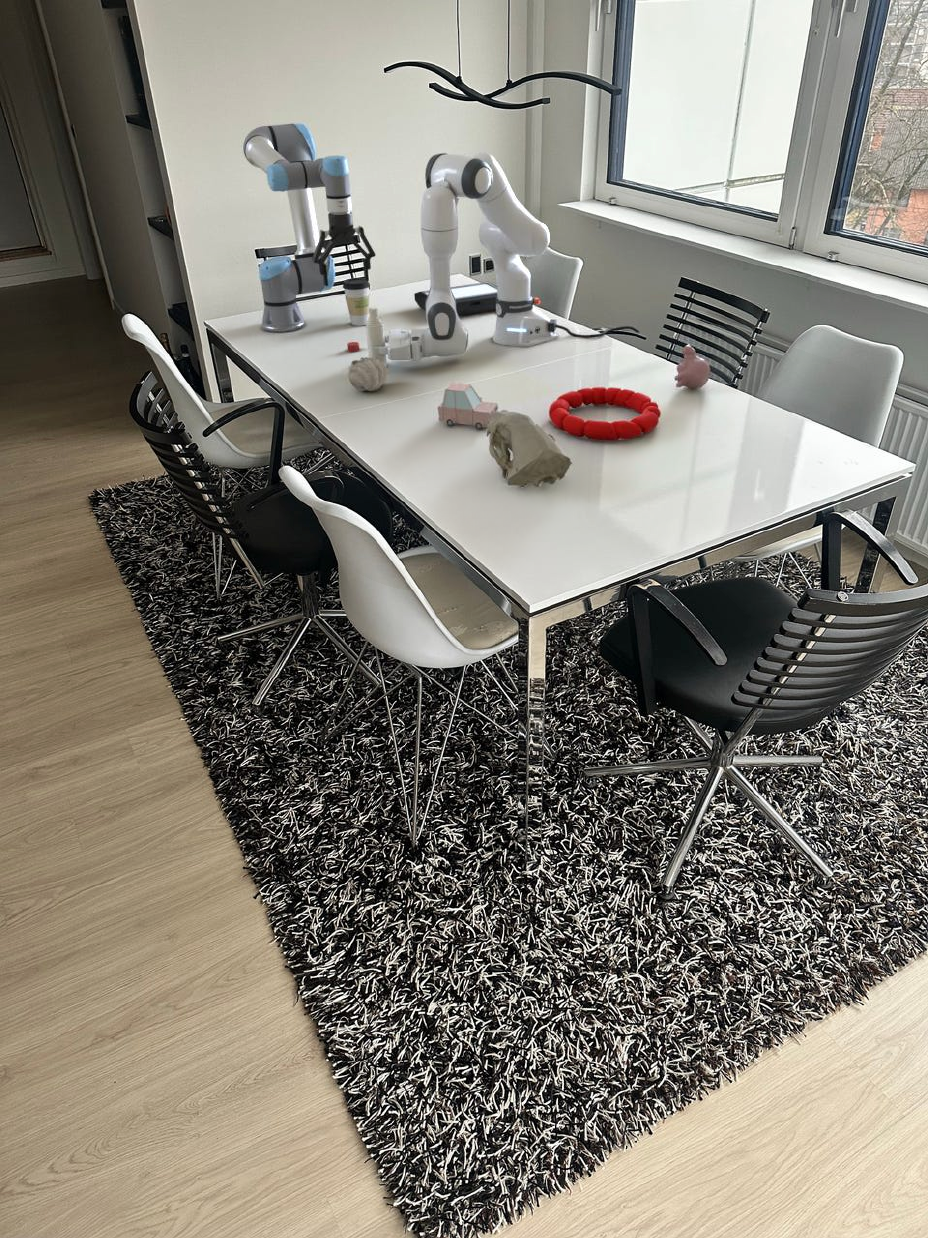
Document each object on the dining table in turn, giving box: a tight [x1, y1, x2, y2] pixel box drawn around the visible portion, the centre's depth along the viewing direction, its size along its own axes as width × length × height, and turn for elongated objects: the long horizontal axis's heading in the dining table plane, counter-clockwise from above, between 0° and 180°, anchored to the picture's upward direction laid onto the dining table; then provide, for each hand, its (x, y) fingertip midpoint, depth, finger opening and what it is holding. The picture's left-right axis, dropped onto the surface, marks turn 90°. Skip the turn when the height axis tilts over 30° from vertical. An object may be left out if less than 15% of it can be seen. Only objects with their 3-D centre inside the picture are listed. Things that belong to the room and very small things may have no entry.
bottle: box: [365, 306, 388, 367], centre depth 282 cm, size 6×6×18 cm
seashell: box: [347, 356, 388, 392], centre depth 266 cm, size 10×15×10 cm
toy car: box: [437, 382, 499, 431], centre depth 243 cm, size 9×15×10 cm, turn 70°
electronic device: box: [413, 281, 497, 317], centre depth 337 cm, size 32×6×20 cm
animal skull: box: [485, 409, 573, 489], centre depth 216 cm, size 17×25×20 cm
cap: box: [346, 341, 360, 353], centre depth 301 cm, size 4×4×2 cm
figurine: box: [674, 344, 711, 390], centre depth 259 cm, size 9×11×12 cm
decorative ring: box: [548, 386, 661, 442], centre depth 242 cm, size 7×30×30 cm
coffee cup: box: [342, 277, 371, 327], centre depth 323 cm, size 10×10×15 cm
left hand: (346, 282), depth 289 cm, fingers open, 13 cm apart
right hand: (373, 345), depth 284 cm, fingers open, 8 cm apart
